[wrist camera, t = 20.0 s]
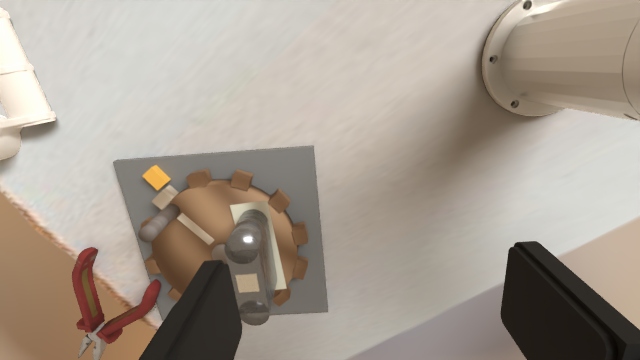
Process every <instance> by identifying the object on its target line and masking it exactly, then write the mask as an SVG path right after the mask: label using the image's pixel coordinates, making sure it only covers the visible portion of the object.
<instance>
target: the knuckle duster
mask: <svg viewBox="0 0 640 360" xmlns="http://www.w3.org/2000/svg"><path fill="white" fill-rule="evenodd" d="M9 19H10V16H9V14H8V12H7V11H5V9H3V8H0V102H1V104H2V106H3V108H4V110H5V111H6V113H7V115H8V117H9V119H8V118H6V117H4V116H2V115H0V160H3V159H6V158H10V157H12V156H14V155H15V154H16V153H17V152H18V151H19V149H20V147H21V135H20V131H21V130H22V128H23V127H26V126H31V125H36V124H41V123H46V122H51V121H56V119H55V118H56V115H55V113H54V112H53V111H52V110H51V108H50V106H49V104H48V102H47V99H46V97H45V95H44V93H43V91H42V89H41V86H40V84H39V82H38V80H37V78H36V76H35V74H34V68H33V66H32V64H30V63H29V61H28V59H27V56H26V54H25V52H24V50H23V48H22V46H21V44H20V41H19V39H18V37H17V35H16V33H15V31H14V29H13V26H12V24H11V22H10V20H9Z"/></svg>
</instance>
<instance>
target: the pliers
mask: <svg viewBox="0 0 640 360" xmlns="http://www.w3.org/2000/svg"><path fill="white" fill-rule="evenodd" d="M97 252H98V250H97V249H96V248H93V247H91V248H87V249H85V250H83V251H82V252H81V253H80V254H79V256H78V259H77V261H76V264H75V267H74V269H73V272H72V280H73V287H74V291H75V294H76V297H77V300H78V304H79V307H80V310H81V313H82V317H83V318H82V319H80V320H79V322H77V327H78V329H81V330H85V332H88V334H87V335H86V336H85V337H84V339H83V341H82V343H81V347H80V352H79V357H80V356H81V355H82V354H83V353H84V351H85V350H86V349H87V348H88V346H89V345H90V344H91V342H92V341H94V342H95V347H94V348H93V360H100V358H101V355H102V354H103V351H104V349H105V347H106V345H107V343H108V344H110V343H112V342H114V341H115V340H116V339H117V338H118V337H119V336H120V335H121V334H122V328H123V327H125V326H126V325H128V324H130V323H132V322H134V321H136V320H138V319H140V318H141V317H143V316H144V315H146V314H147V313H148V312H149V311H150V310H151V309H152V308H153V306H154V305H155V302H156V300H157V297H158V294H159V292H160V289H161V283H160V281H159V280H157V279H155V280H154V281H153V282H152V283H151V284H150V285H149V287H148V288H147V290H146V292H145V294H144V296H143V299H142V302H141V304H140V305H138V306H136V307H134V308H132V309H130V310H129V311H127V312H125V313H123V314H121V315H119V316H117V317H116V318H113V319H112V320H110V321H108V322H107V323H106V324H104V323H103V322H104V321H105V320H104V314H103V313H102V309H101V306H100V303H99V299H98V295H97V291H96V288H95V285H94V281H93V276H92V266H93V263H94V260H95V257H96V255H97ZM79 357H78V358H79Z"/></svg>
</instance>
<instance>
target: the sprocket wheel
mask: <svg viewBox="0 0 640 360" xmlns="http://www.w3.org/2000/svg"><path fill="white" fill-rule="evenodd" d="M253 175H254V174H253V173H250V172H246V171H242V170H239V169H237V170H236V171H235V172H234V174H233V176H232V180H230V179H212V176H211V174H210V171H209V168H207V169H203V170H198V171H194V172H192V173H191V174H189V175H188V176H187V177H186V179H187V182H188V184H189V187H187V188H186V189H184V190H182V191H181V192H180V193H179V192H178V191H177V190H175V189H174V188H173V187H172V186H171V185H169V186H167V187H166V188H165V189H163V190H162V191H161V192H160V193H159V194H158V195H157V196H156V197H155V198H154V199H153V200H152V202H153V203H154V204H155V205H156V206H157V207H159V208H160V209H161V211H160V213H158V214H157V215H156V216H155V217H148V218H147V219H146V220H145V221H144V222H143V223H141V228H140V230H139V232H138V237H139V238H140V240H142V241H143V242H151V244H152V252H153V253H152V254H151V255H150V256H149V257H148V258H147V259H146V260H145V261H144V263H145V265H146V267H147V269H148V271H149V273H150V275H152V274H157V273H161V274H162V275H163V276H164V278H165V279H166V280H167V282H168V283H169V284H170V285H171V286H172V288H171V290H170V291H169V292H168V294H167V295H169V296H170V297H171V298H173V299H174V300H175V301H177V302H178V301H179V299H180V297H181V296H182V294H183V293H184V291H185V290H186V288H187V286H188V285H189V283H190V282H191V280H192V279H193V277H194V276H195V274H196V272H197V271H198V269H199V268H200V266H201V265H202V263H203V262H204V261H208V260H222V261H223V262H224V264H227V260H226V255H225V250H224V246H225V243H226V241H227V239H228V238H229V236H230V234H231V232H232V231H233V229H234V227H235V225H236V223H237V222H238V220H239V218H240V216H241V215H242V213H243V212H245V211H247V210H250V209H256V210H259V211H261V212H263V213H264V214H265V216H266V217H267V219H268V224H269V230H270V236H271V242H272V248H273V255H274V261H275V267H276V273H277V284H276V289H275V293H274V297H273V302H274V303H275V304H276V305H278V306H279V307H280V306H281V305H282V304H283V303H285V302H286V301H287V300H289V299H290V294H291V288H290V287H289V286H288V283H289V282H290V280H291V278H292V277H294V278H298V279H301V280H303V279H304V276H305V273H306V270H307V266H308V258H306V257H302V256H298V245H302V244H307V243H308V236H309V235H308V231H307V228H306V224H305V221H304V222H299V223H294V224H293V222H292V220H291V218H290V216H289V214H288V213H287V212H286V210H285V209H286V208H287V207H288V206H289V204H290V200H291V199H290V198H289V197H288V196H287V195H286V194H285V193H284V192H283V191H282V190H281V189H280V188H278V189H277V190H276V191H275V192H274V193H273V194H272V195H269V194H268V193H266V192H265V191H263V190H262V189H260V188H257V187H255V186H253V185H251V183H252V179H253Z"/></svg>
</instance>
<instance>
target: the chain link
mask: <svg viewBox="0 0 640 360" xmlns="http://www.w3.org/2000/svg"><path fill="white" fill-rule="evenodd" d="M224 250H225V255H226V260H227V264H228V265H229V269H230V273H231V278H232V282H233V287H234V291H235V296H236V300H237V305H238V309H239V314H240V318H241V319H242V320H243V321H244V322H245V323H247V324H250V325H261V324H263V323H265V322H266V321H267V320H268V318H269V315H270V311H271V306H272V302H273V297H274V293H275V289H276V284H277V273H276V267H275V261H274V255H273V248H272V242H271V236H270V230H269V224H268V219H267V217H266V216H265V214H264V213H263V212H261V211H259V210H256V209H250V210H247V211H245V212H243V213H242V215H241V216H240V218H239V220H238V222H237V223H236V225H235V227H234V229H233V231H232V232H231V234H230V236H229V238H228V239H227V241H226V243H225V246H224Z"/></svg>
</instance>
